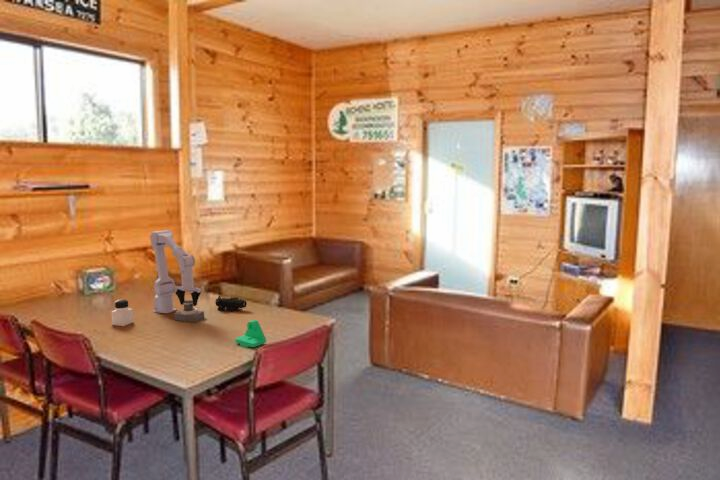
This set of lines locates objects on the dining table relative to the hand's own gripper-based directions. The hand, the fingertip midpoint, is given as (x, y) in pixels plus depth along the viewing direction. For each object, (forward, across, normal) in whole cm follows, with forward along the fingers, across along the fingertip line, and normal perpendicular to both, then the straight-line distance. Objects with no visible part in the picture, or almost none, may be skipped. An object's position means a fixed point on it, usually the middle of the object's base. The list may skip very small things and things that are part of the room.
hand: (188, 304), depth 265 cm
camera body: (+7, 0, 0) cm, 7 cm away
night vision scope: (+8, +11, +21) cm, 25 cm away
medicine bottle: (+8, -27, -17) cm, 33 cm away
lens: (+4, 0, 0) cm, 4 cm away
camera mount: (+8, +49, -23) cm, 55 cm away
